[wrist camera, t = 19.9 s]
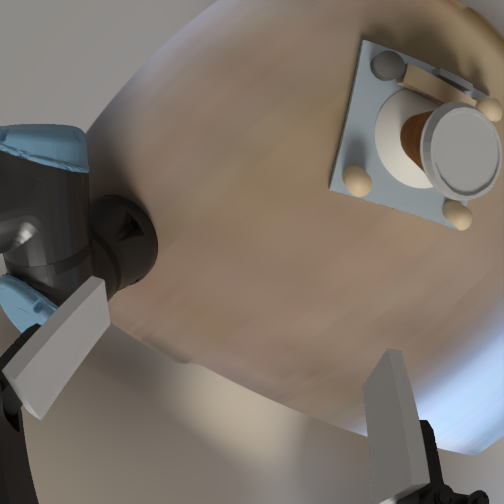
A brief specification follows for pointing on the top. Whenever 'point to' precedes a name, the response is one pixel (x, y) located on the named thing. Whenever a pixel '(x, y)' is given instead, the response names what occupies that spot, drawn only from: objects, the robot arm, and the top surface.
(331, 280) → the top surface
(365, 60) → the board
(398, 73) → the stool leg
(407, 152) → the disposable coffee cup
